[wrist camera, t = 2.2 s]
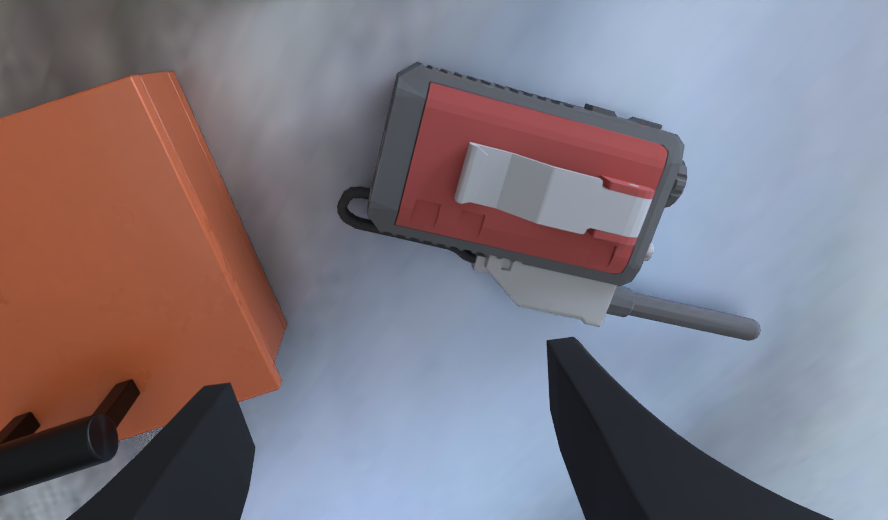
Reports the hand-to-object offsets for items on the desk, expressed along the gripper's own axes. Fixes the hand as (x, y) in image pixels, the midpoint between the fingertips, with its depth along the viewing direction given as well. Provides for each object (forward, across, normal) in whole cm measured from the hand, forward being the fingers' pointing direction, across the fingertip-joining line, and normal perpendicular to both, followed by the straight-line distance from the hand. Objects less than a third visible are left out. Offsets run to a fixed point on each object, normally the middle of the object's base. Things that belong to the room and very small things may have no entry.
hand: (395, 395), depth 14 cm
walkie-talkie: (+14, -7, +2) cm, 16 cm away
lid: (+9, +14, +1) cm, 16 cm away
